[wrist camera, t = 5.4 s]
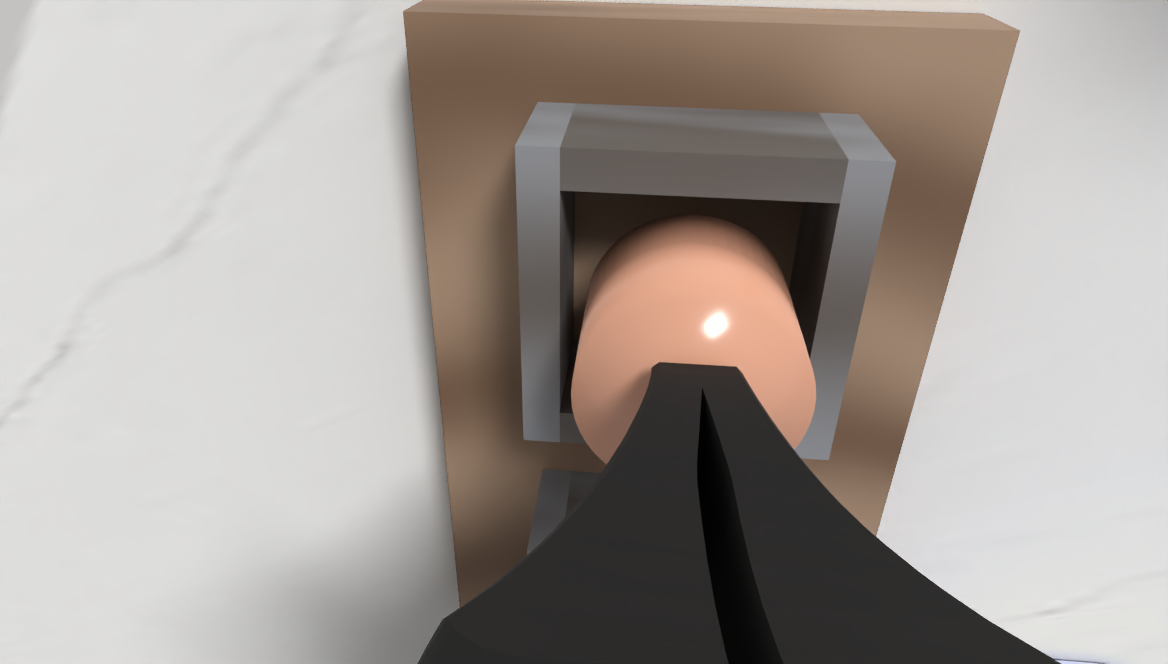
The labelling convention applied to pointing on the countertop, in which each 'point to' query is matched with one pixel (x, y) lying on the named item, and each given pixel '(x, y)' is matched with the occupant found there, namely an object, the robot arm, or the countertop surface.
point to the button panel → (683, 187)
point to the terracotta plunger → (688, 325)
